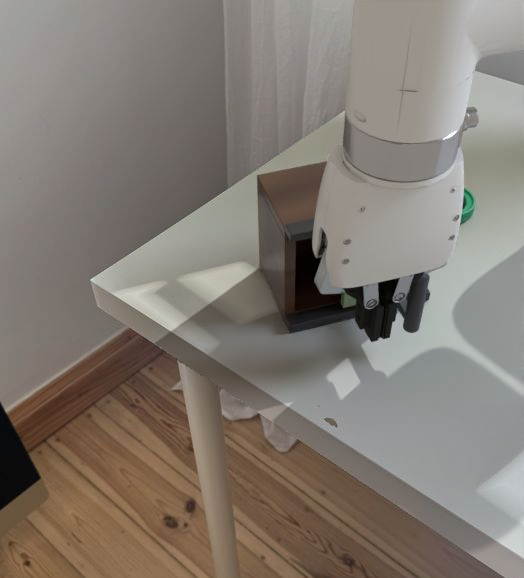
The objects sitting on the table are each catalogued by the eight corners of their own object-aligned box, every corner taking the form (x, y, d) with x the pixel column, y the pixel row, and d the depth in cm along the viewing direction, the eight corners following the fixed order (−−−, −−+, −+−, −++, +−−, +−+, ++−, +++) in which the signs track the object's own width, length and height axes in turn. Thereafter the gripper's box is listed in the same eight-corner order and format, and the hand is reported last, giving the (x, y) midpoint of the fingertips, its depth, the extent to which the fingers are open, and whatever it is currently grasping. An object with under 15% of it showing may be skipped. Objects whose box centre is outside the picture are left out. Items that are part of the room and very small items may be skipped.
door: (442, 338, 64) (462, 260, 57) (369, 356, 63) (380, 279, 56) (409, 286, 69) (424, 208, 62) (340, 303, 68) (347, 224, 61)
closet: (429, 300, 69) (450, 200, 61) (289, 333, 67) (290, 235, 58) (388, 238, 75) (403, 140, 67) (259, 267, 73) (256, 168, 64)
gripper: (476, 90, 52) (434, 280, 65) (274, 127, 49) (275, 317, 63) (532, 147, 47) (474, 339, 61) (312, 191, 44) (304, 382, 58)
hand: (373, 328), depth 62 cm, fingers closed
